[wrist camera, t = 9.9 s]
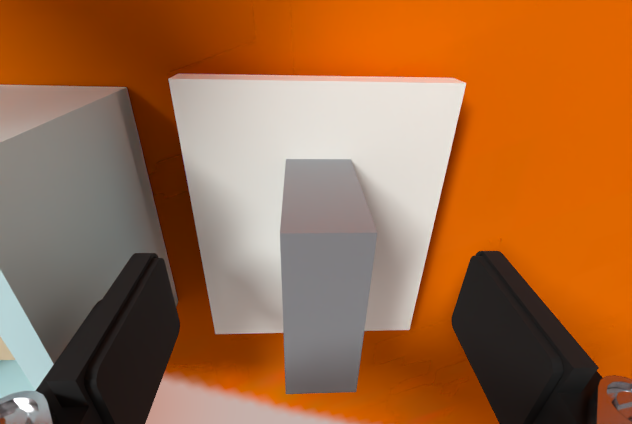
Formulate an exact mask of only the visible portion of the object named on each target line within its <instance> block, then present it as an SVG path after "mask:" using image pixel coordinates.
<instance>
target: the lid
mask: <svg viewBox="0 0 632 424" xmlns="http://www.w3.org/2000/svg"><path fill="white" fill-rule="evenodd" d="M168 80H169V85H170V91H171V96H172V102H173V107H174V113H175V118H176V123H177V129H178V134H179V140H180V145H181V150H182V156H183V161H184V167H185V172H186V178H187V183H188V188H189V194H190V199H191V205H192V210H193V216H194V221H195V226H196V232H197V237H198V243H199V248H200V253H201V259H202V264H203V270H204V275H205V281H206V286H207V291H208V297H209V302H210V308H211V313H212V318H213V324H214V329H215V334H247V333H284V356H285V383H286V394H304V393H335V392H356V389H357V381H358V374H359V367H360V359H361V352H362V344H363V337H364V331H380V330H410V326H411V321H412V317H413V313H414V308H415V304H416V299H417V295H418V291H419V286H420V282H421V278H422V273H423V269H424V265H425V260H426V256H427V252H428V247H429V243H430V239H431V234H432V230H433V226H434V221H435V217H436V213H437V208H438V204H439V200H440V195H441V191H442V187H443V182H444V178H445V174H446V169H447V165H448V160H449V156H450V152H451V147H452V143H453V139H454V134H455V130H456V126H457V121H458V117H459V113H460V108H461V104H462V100H463V95H464V91H465V87H466V83H465V82H462V81H460V80H457V79H455V78H428V77H365V76H301V75H237V74H177V75H175V76H173V77H171V78H169V79H168Z"/></svg>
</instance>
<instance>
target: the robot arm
mask: <svg viewBox="0 0 632 424" xmlns="http://www.w3.org/2000/svg"><path fill="white" fill-rule="evenodd" d="M452 326H453V329H454V331H455V333H456V335H457V337H458V340H459V342H460V344H461V346H462V348H463V350H464V352H465V354H466V356H467V358H468V360H469V362H470V364H471V366H472V368H473V370H474V372H475V374H476V376H477V378H478V380H479V382H480V384H481V386H482V389H483V391H484V393H485V395H486V397H487V399H488V401H489V403H490V405H491V407H492V409H493V411H494V413H495V415H496V417H497V419H498V421H499V423H500V424H632V379H629V378H626V377H622V376H616V375H613V376H606V377H604V378H602V377H601V376H600V374H599V373H598V372H597V369H598V366H597V365H596V364H595V363H594V362H593V361H592V359H591V358H590V357H589V356H588V355H587V353H586V352H585V351H584V350H583V349H582V347H581V346H580V345H579V344H578V343H577V342H576V340H575V339H574V338H573V337H572V336H571V334H570V333H569V332H568V331H567V330H566V329H565V327H564V326H563V325H562V324H561V323H560V321H559V320H558V319H557V318H556V317H555V316H554V314H553V313H552V312H551V311H550V310H549V308H548V307H547V306H546V305H545V304H544V303H543V301H542V300H541V299H540V298H539V297H538V295H537V294H536V293H535V292H534V291H533V289H532V288H531V287H530V286H529V285H528V284H527V282H526V281H525V280H524V279H523V278H522V276H521V275H520V274H519V273H518V272H517V271H516V269H515V268H514V267H513V266H512V265H511V263H510V262H509V261H508V260H507V259H506V258H505V256H504V255H503V254H502V253H501V252H499V251H479V252H478V253H477V254H476V256H473V257H472V258H471V260H470V262H469V266H468V269H467V272H466V275H465V278H464V281H463V284H462V287H461V291H460V294H459V297H458V300H457V303H456V306H455V309H454V312H453V315H452ZM179 329H180V322H179V317H178V313H177V309H176V305H175V301H174V297H173V293H172V289H171V285H170V281H169V277H168V273H167V269H166V265H165V261H164V259H163V258H159V257H158V255H157V254H156V253H135V254H133V255H132V256H131V258H130V259H129V261H128V262H127V264H126V265H125V266H124V268H123V269H122V271H121V272H120V274H119V275H118V277H117V278H116V280H115V281H114V283H113V284H112V286H111V287H110V288H109V290H108V291H107V293H106V294H105V296H104V297H103V299H102V300H100V301H98V302H97V303H96V305H95V306H94V307H93V308H92V310H91V311H90V313H89V314H88V316H87V317H86V319H85V320H84V321H83V323H82V324H81V326H80V327H79V329H78V330H77V332H76V333H75V334H74V336H73V337H72V339H71V340H70V342H69V343H68V345H67V346H66V347H65V349H64V350H63V352H62V353H61V355H60V356H59V358H58V359H57V360H56V362H55V363H54V365H53V366H52V368H51V369H50V370H49V372H48V373H47V375H46V376H45V378H44V379H43V381H42V382H41V383H40V385H39V386H38V388H37V389H36V391H21V392H16V393H12V394H10V395H8V396H5V397H3V398H0V424H145V422H146V420H147V417H148V414H149V412H150V409H151V406H152V403H153V401H154V398H155V395H156V393H157V390H158V388H159V385H160V382H161V379H162V377H163V374H164V371H165V369H166V366H167V363H168V361H169V358H170V355H171V353H172V350H173V347H174V344H175V342H176V339H177V336H178V333H179Z"/></svg>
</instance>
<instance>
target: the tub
mask: <svg viewBox="0 0 632 424" xmlns="http://www.w3.org/2000/svg"><path fill="white" fill-rule="evenodd" d="M135 253H156V254H157V255H158V257H159V258H163V259H164V261H165V265H166V269H167V273H168V277H169V281H170V285H171V289H172V293H173V297H174V301H175V305H176V306H177V304H178V298H177V293H176V289H175V285H174V281H173V277H172V273H171V268H170V264H169V260H168V256H167V252H166V248H165V243H164V239H163V235H162V231H161V227H160V223H159V218H158V214H157V210H156V206H155V202H154V198H153V194H152V189H151V185H150V181H149V177H148V173H147V169H146V164H145V160H144V156H143V152H142V148H141V144H140V139H139V135H138V131H137V127H136V123H135V119H134V115H133V110H132V106H131V102H130V98H129V94H128V90H127V87H99V86H47V85H0V398H3V397H5V396H8V395H10V394H12V393H16V392H21V391H36V389H37V388H38V386H39V385H40V383H41V382H42V381H43V379H44V378H45V376H46V375H47V373H48V372H49V370H50V369H51V368H52V366H53V365H54V363H55V362H56V360H57V359H58V358H59V356H60V355H61V353H62V352H63V350H64V349H65V347H66V346H67V345H68V343H69V342H70V340H71V339H72V337H73V336H74V334H75V333H76V332H77V330H78V329H79V327H80V326H81V324H82V323H83V321H84V320H85V319H86V317H87V316H88V314H89V313H90V311H91V310H92V308H93V307H94V306H95V305H96V303H97V302H98V301H100V300H102V299H103V297H104V296H105V294H106V293H107V291H108V290H109V288H110V287H111V286H112V284H113V283H114V281H115V280H116V278H117V277H118V275H119V274H120V272H121V271H122V269H123V268H124V266H125V265H126V264H127V262H128V261H129V259H130V258H131V256H132V255H133V254H135Z"/></svg>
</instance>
